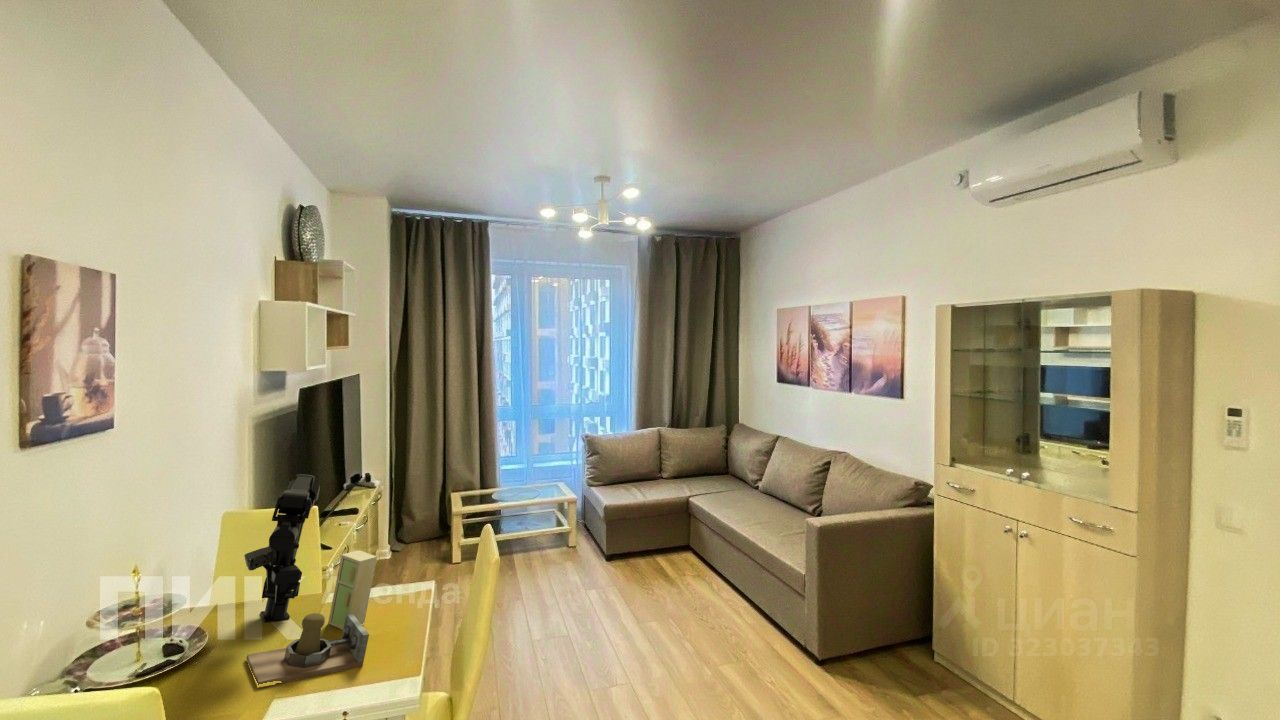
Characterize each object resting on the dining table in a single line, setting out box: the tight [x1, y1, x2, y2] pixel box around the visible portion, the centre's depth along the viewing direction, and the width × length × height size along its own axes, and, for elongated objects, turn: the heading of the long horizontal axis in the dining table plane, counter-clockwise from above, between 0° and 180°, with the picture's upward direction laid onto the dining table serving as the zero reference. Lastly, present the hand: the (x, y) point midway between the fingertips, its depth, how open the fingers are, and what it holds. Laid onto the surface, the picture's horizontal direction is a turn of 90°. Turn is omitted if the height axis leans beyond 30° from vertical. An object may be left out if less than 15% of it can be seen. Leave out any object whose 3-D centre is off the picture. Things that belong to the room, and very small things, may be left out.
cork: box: [295, 612, 326, 655], centre depth 146 cm, size 6×6×11 cm
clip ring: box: [284, 626, 358, 668], centre depth 148 cm, size 10×16×5 cm, turn 134°
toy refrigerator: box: [327, 549, 378, 631], centre depth 170 cm, size 8×7×21 cm
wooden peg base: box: [245, 613, 370, 685], centre depth 146 cm, size 14×24×8 cm, turn 134°
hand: (273, 596), depth 152 cm, fingers open, 9 cm apart
